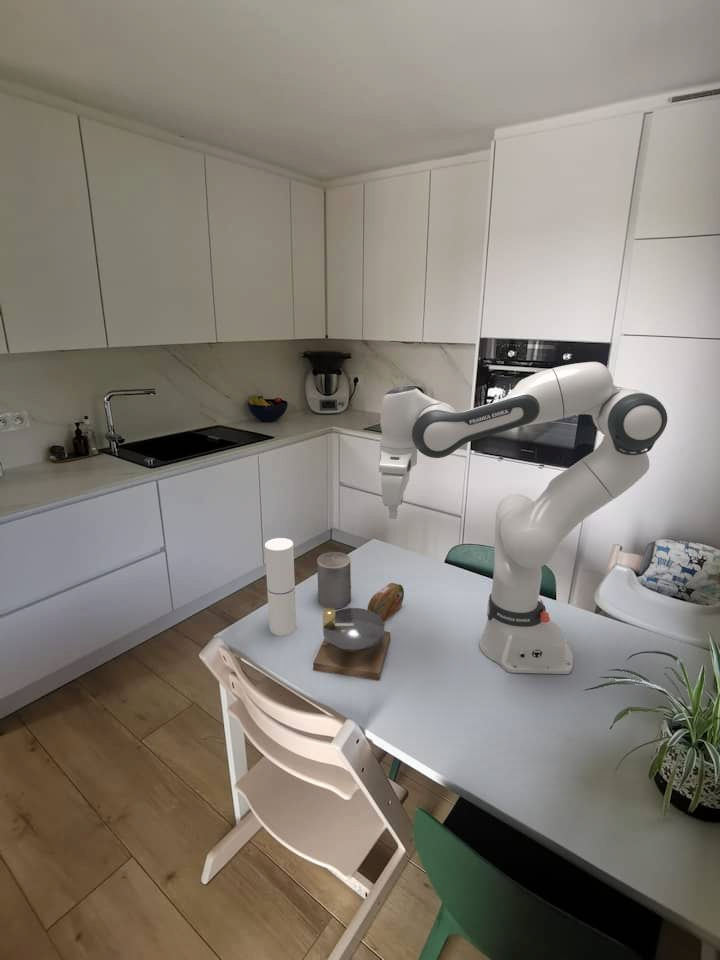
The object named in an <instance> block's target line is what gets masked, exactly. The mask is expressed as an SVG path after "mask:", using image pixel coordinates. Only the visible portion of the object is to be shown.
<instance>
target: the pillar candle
mask: <svg viewBox="0 0 720 960" xmlns="http://www.w3.org/2000/svg"><path fill="white" fill-rule="evenodd" d="M316 563H317V564H316V565H317V567H316V568H317V597H318V598H317V601H318V603H319V605H320V606H321V607H322V606H323V609H325V608H333V609H336V610H337V609H344V608H345V607H347V606H348V605H349V604H350V603H351V600H352V585H351V582H352V580H351V575H352V574H351V557H350V555H348V554H346V553H345V552H340V551H328V552H325V553H322V554H321V555H319V556H318V557H317V560H316Z"/></svg>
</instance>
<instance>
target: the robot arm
mask: <svg viewBox="0 0 720 960" xmlns="http://www.w3.org/2000/svg"><path fill="white" fill-rule="evenodd" d="M576 415H587V417H588V418H589V421H590V423H591V424H592V426H594V428H595V429H596V430H597V431H599V432H600V433H601V434H603V438H602V440H601V442H600V444H599V445H598V446H597V447H596V448H595V449H594V450H593V451H592V452H590V453H589V454H587V455H586V456H584V457H582V458H581V459H579V461H577V462H576V463H574V464H573V465H571V466H570V467H568V468H567V469H565V470H563V471H562V472H561V473H559V474H558V475H556V476H555V477H554V478H553V479H551V480H550V482H549V483H548V485H547V486H546V488H545V489H544V491H543V492H542V493H541V494H540V495H539V497H537V499H536V500H535V501H534V500H532V499H531V498H530V497H528V496H526V495H524V494H520V493H516V494H515V493H514V494H510V495H507V496H505V497H503V498H502V499H501V501H500V502H499V503H498V505H497V508H496V514H495V527H494V555H493V556H494V557H493V558H494V561H493V562H494V563H493V564H494V565H493V575H492V585H491V592H490V594H489V597H488V601H487V611H486V615H487V620H486V624H485V627H484V630H483V632H482V635H481V637H480V639H479V648H480V649H481V652H482V653H483V654H484V655H485V656H486V657H487V658H488V659H490V660H492V661H493V662H495V663H496V664H498V665H499V666H500V667H502V669H503V670H504V671H506V672H508V673H511V674H545V675H546V674H547V675H549V674H551V675H567V674H570V673H571V672H572V670H573V669H574V668H573V667H574V656H573V653H572V650H571V648H570V646H569V645H568V643H567V641H566V640H565V638H564V635H563V634H564V633H563V632H562V630H561V628H560V626H559V625H558V624H557V623H556V622H554V621H553V620H551V619H550V615H549V612H547V610H546V609H547V608H546V606H545V604H544V602H543V600H542V599H541V598H540V591H541V583H542V578H543V577H542V576H543V575H542V574H543V573H542V567H543V566H546V565H547V564H548V563H550V562H551V560H552V559H553V557H554V555H555V553H556V551H557V548H558V547H559V545H560V544H561V543H562V542H563V540H565V539H566V537H567V536H568V535H569V534H570V533H572V531H573V530H574V529H575V528H577V526H578V525H579V524H581V522H582V521H584V520H585V519H586V518H588V517H589V516H591V515H592V514H593V513H595V512H598V510H600V509H601V508H603V507H604V506H606V505H608V503H610V502H612V501H613V500H615V499H617V498H618V497H620V496H621V495H622V494H623V493H625V492H626V491H628V490H629V489H630V488H632V486H634V485H635V484H637V482H638V481H640V479H641V478H643V477H644V475H646V473H648V471H649V468H650V457H649V455H648V452H650V451H651V450H652V449H653V448H654V445H655V443H656V442H657V441H658V440H659V438H660V437H661V436H662V435H663V433H664V432H665V429H666V427H667V424H668V413H667V410H666V408H665V406H664V404H662V402H661V401H660V400H659V399H657V398H656V397H655V396H653V395H651V394H648V393H645V392H643V391H639V390H636V389H632V388H630V389H629V388H625V387H620V386H616V385H615V383H614V379H613V377H612V373H611V371H610V370H609V368H607V366H606V365H604V364H603V363H601V362H598V361H587V362H577V363H570V364H565V365H561V366H560V365H559V366H556V367H552V368H549V369H546V370H545V369H544V370H542V371H538V372H536V373H534V374H530V375H529V376H526V377H524V378H523V379H521V380H520V381H518V382H517V383H516V385H514V388H513V389H512V390H511V391H510V392H509V393H508V394H506V396H504V397H502V398H501V399H499V400H497V401H496V400H495V401H494V402H492V403H491V402H490V403H488V404H483V405H480V406H477V407H474V408H470V409H467V410H464V411H460V412H458V411H457V410H456V409H455V408H454V407H453V406H452V405H451V404H449V403H447V402H444V401H441V400H437V399H435V398H432V397H430V396H428V395H426V394H425V393H424V392H422V391H420V390H419V389H418V387H416V386H410V385H408V386H407V385H406V386H400V387H395V388H392V389H389V390H388V391H387V392H386V393H385V394H384V396H383V399H382V402H381V408H380V429H381V438H380V441H379V464H378V473H381V475H380V476H381V478H380V479H381V480H380V482H381V497H382V498H381V499H382V504H383V506H385V507H387V508H388V512H389V513H388V515H389V516H388V517H389V519H392V520H396V519H397V517H398V515H399V514H398V512H399V510H398V508H399V506H401V505H402V504H403V503H404V494H405V491H406V488H407V486H408V483H409V481H410V472H411V471H412V468H413V467H415V466H416V465H417V463H418V452H420V453H421V454H422V455H424V456H426V457H429V458H431V459H432V458H433V459H441V458H445V457H448V456H450V455H451V454H453V453H454V452H455V451H457V450H458V449H459V448H461V447H463V446H464V445H465V444H468V443H469V442H473V441H476V440H479V439H482V438H486V437H490V436H493V435H496V434H500V433H502V432H506V431H510V430H512V429H516V428H521V427H526V426H531V425H537V424H544V423H550V422H553V421H554V422H555V421H558V420H562V419H566V418H570V417H573V416H576ZM539 598H540V601H539Z"/></svg>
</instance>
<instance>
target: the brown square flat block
mask: <svg viewBox="0 0 720 960" xmlns="http://www.w3.org/2000/svg"><path fill="white" fill-rule="evenodd" d="M323 638H324V637H323ZM390 640H391V631H385V630H384V637H383V639H382V641H381V642H380V643H379V644H378V645H377V646H375V647H373V648H371V649H369V650H365V651H360V652H347V651H342V650H339V649H336V648H334V647H332V646H331V645H329V644H328V643H327V642H326V640H325V638H324V639H323V641H322V642H321V645H320V647H319V649H318V651H317V654H316V655H315V658H314V660H313V662H312V665H313V667H312V668H313V669H312V670H313V671H318V672H319V671H320V672H325V673H331V674H338V675H344V676H348V677H349V676H350V677H356V678H361V679H362V678H363V679H368V680H374V681H380V678H381V675H382V671H383V668H384V667H383V666H384V663H385V660H386V655H387V653H388V652H387V651H388V647H389V644H390Z"/></svg>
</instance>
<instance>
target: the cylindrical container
mask: <svg viewBox="0 0 720 960" xmlns="http://www.w3.org/2000/svg"><path fill="white" fill-rule="evenodd" d="M264 554H265V572H266V588H267V589H266V590H267V591H266V592H267V604H268V605H267V607H268V622H269V623H268V624H269V625H268V626H269V632H270V633H271V634H272V635H274V636H278V637H279V636H280V637H283V636H288V635H291V634H293V633H295V631H296V630H297V611H296V609H297V608H296V585H295V584H296V583H295V581H296V580H295V559H294V558H295V557H294V555H295V554H294V542H293V540H291V539H289V538H285V537H276V538H272V539H269V540H267V541H265V543H264Z"/></svg>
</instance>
